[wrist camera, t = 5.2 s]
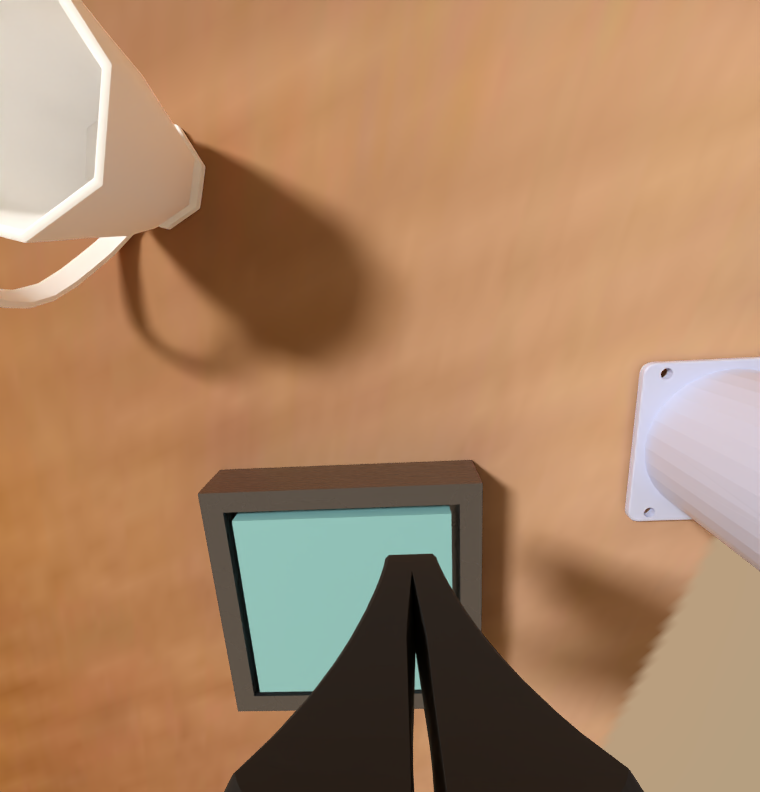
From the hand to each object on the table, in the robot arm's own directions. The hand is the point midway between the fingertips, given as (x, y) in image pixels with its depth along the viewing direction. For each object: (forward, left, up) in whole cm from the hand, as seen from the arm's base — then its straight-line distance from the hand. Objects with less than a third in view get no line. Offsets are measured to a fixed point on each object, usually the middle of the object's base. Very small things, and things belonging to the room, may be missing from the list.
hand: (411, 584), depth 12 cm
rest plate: (+3, +7, -8) cm, 11 cm away
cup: (+11, -12, -10) cm, 19 cm away
